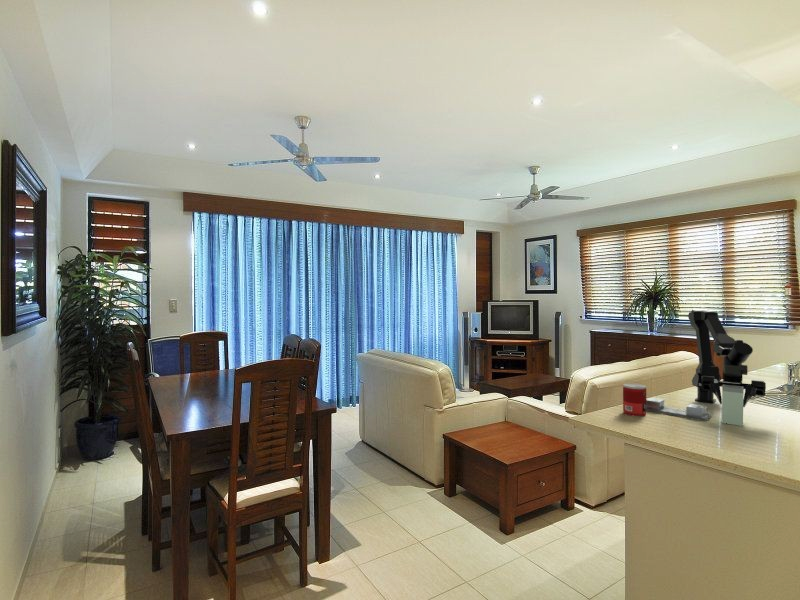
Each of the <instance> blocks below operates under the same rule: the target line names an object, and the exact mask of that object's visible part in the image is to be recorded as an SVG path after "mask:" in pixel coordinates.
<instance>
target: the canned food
mask: <svg viewBox="0 0 800 600" xmlns="http://www.w3.org/2000/svg"><path fill="white" fill-rule="evenodd" d="M646 400H647V385H644V384H640V383H629V382H628V383H623V385H622V412H623V413H624V414H626V415H628V416H632V415H634V416H635V417H645V416H646V414H647V411H646ZM634 416H633V417H634Z"/></svg>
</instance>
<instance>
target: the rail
mask: <svg viewBox="0 0 800 600" xmlns="http://www.w3.org/2000/svg"><path fill="white" fill-rule="evenodd" d="M646 412H651V413H656V414H662V413H663V414H662V415H667V414H669V415H668V416H673V415H674V417H678V418H685V417H686V418H687V419H691V418H693V420H697V419H699V420H698V421H703V420H707V421H709V419H711V418H712V413H708V412H707V405H704V404H703V405H702V404H696V403H689V404H688V405H686V408H685V409H684V408H683V409H682V408H677V407H669V406H665V399H663V398H657V397H649V398H646Z"/></svg>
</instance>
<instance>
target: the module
mask: <svg viewBox="0 0 800 600" xmlns="http://www.w3.org/2000/svg"><path fill="white" fill-rule="evenodd" d="M721 390H722V391H721V398H722V405H721V424H726V423H727V424H728V425H733V426H739V427H740V426H742V427H744V407H743V400H744V394H745V389H744V388H743V386H734V385H724V384H723V386H722V387H721ZM727 424H726V425H727Z"/></svg>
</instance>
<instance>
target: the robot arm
mask: <svg viewBox="0 0 800 600" xmlns="http://www.w3.org/2000/svg"><path fill="white" fill-rule="evenodd" d="M688 320H689V323H690V326H691V327H692V328H693V329H694V330H695V337H696V346H697V353H698V354H697V355H698V363H699V364H698V365H697V367H696V368H695V374H694V376H693V377H692V379H691V383H692V384H691V385H692V386H693V387H695V388H697V397H696V398H695V399H694V401H696V402H703V403H709V404H710V403H711V404H713V403H715V402H716V401H717V400H718V403H719V404H720V405H721V406H722V391H721V388H722V386H723V384H724V385H734V386H743V388H744V394H743V408H745V407H746V406H747V404H748V402H749V401H750V400H751V398H754V397H756V396H759V397H761V396H762V397H764V396H766V389H767V388H766V387H767V385H766V382H765V380H764V381H763V380H756V379H755V380H754V379H751V381H750V383H746V382H745V383H743V376H747V375H748V371H749V370H748V365H747V364H744V363H745V362H747V360H748V359H749V357H750V355H752V353H753V352H754V350H753V347H752V346H751V345H750V344H748V343H746V342H744V341H743V340H742V339H734V338H733V337H732V336H730V335H729V334H727V331H726V329H725V328H724V326H723V323H722V322H721V320H720V318H719V313H718V312H717V311H715V310H709V309H691V311H689V313H688ZM710 335H711V337H712V339H713V344H712V345H711V337H710ZM712 347H713V351H712ZM712 352H714V353H715V355H716V356H719V357H723V358H722V360H723V361H722V362H723V363H722V375H721V374H720V368H719V366H718V365H715V364H714V362H713V353H712ZM721 376H722V377H721ZM714 397H716V399H715V398H714Z"/></svg>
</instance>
